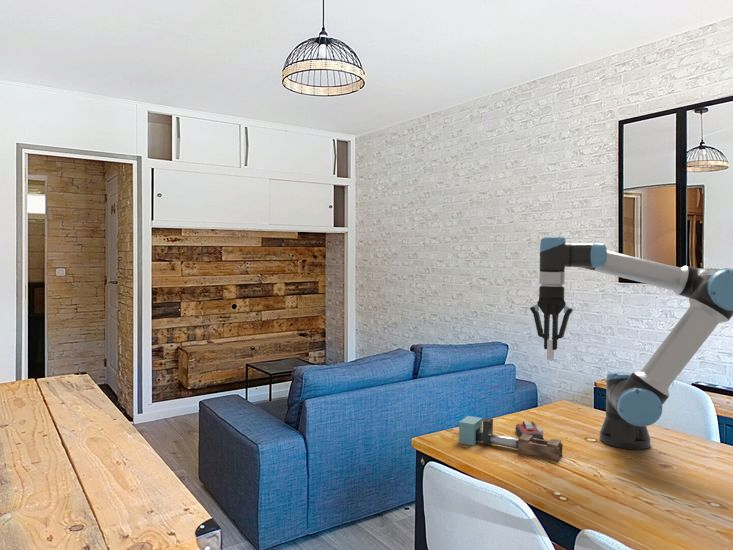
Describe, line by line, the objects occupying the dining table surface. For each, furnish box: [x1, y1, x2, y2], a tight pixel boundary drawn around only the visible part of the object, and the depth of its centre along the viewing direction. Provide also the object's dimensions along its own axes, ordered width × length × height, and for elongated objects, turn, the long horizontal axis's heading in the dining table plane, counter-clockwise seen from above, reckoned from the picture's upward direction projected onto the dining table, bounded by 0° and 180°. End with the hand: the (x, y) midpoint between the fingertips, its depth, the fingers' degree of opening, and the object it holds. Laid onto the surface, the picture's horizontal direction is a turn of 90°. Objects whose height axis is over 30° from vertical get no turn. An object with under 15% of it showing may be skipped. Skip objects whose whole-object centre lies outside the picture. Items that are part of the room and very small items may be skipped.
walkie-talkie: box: [515, 420, 545, 440], centre depth 184 cm, size 9×4×20 cm
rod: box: [476, 417, 532, 450], centre depth 170 cm, size 20×4×8 cm, turn 59°
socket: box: [458, 415, 483, 446], centre depth 175 cm, size 5×8×7 cm, turn 149°
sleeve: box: [517, 434, 564, 462], centre depth 164 cm, size 12×6×5 cm, turn 59°
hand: (550, 359), depth 168 cm, fingers closed
